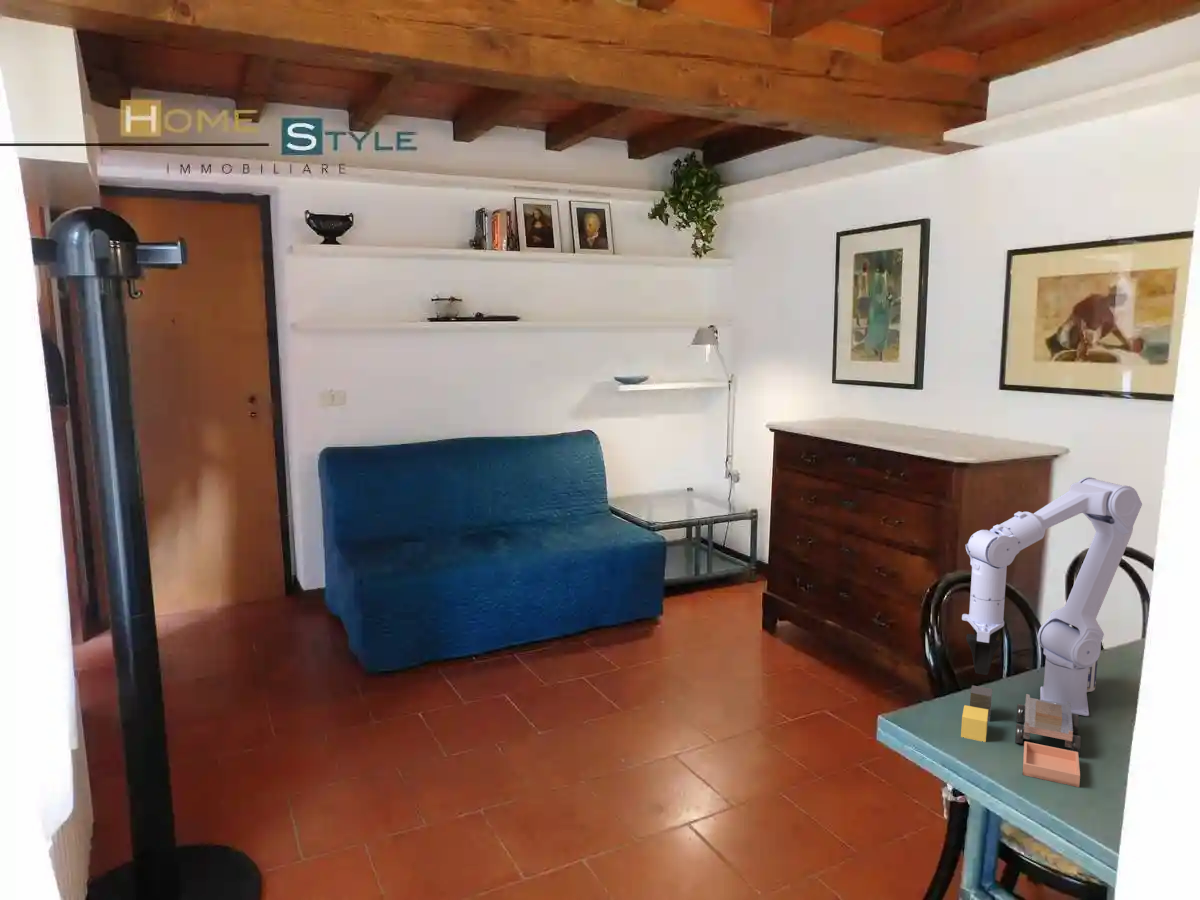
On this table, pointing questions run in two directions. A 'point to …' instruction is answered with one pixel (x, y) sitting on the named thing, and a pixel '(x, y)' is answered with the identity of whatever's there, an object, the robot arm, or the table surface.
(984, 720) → the chock
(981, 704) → the grey matte cube
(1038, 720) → the trolley
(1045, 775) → the tray
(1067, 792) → the table surface
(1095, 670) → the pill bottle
